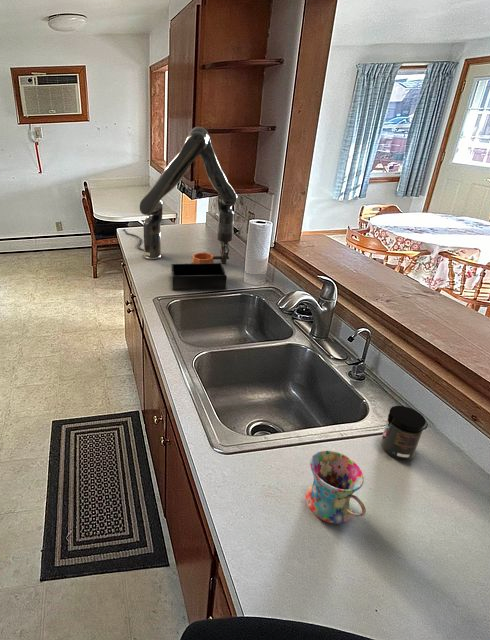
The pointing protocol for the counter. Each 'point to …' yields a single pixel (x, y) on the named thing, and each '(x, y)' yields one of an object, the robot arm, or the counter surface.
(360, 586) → the counter surface
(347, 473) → the mug
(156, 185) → the robot arm
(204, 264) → the black storage tray
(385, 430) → the supplement container
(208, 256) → the pan
